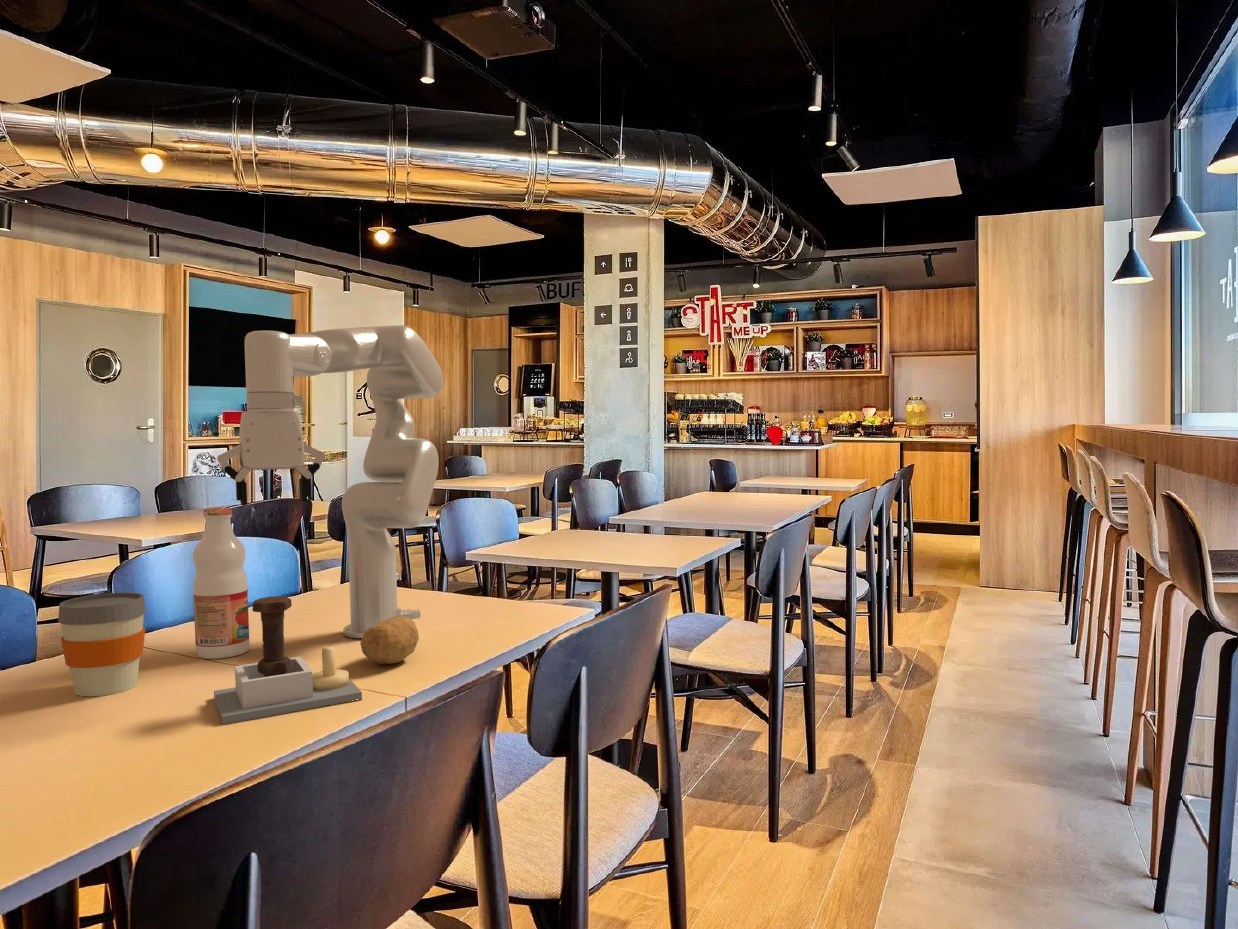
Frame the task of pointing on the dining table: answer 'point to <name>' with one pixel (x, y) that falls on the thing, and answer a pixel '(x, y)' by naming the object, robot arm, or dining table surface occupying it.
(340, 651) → the dining table surface
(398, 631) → the potato
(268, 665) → the bolt
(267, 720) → the dining table surface
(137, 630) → the reusable coffee cup
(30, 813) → the dining table surface
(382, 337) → the robot arm
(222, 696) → the board
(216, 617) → the fruit juice
